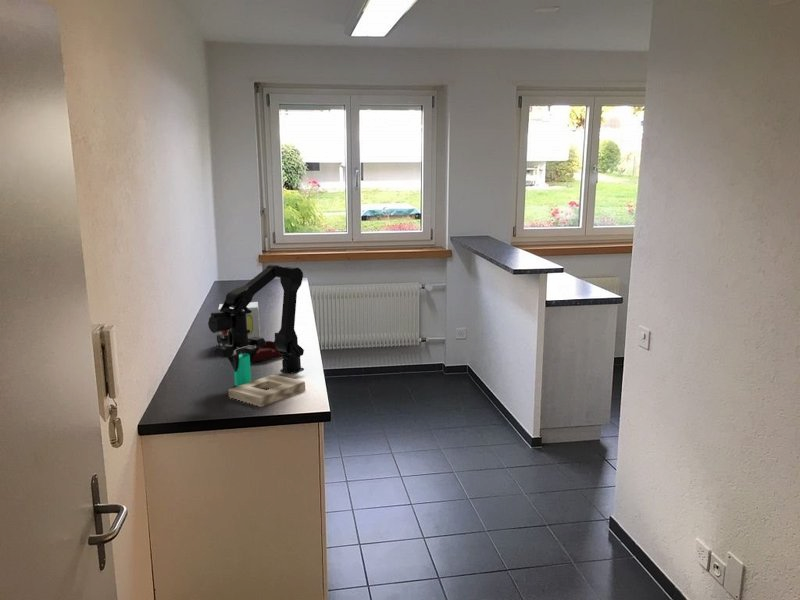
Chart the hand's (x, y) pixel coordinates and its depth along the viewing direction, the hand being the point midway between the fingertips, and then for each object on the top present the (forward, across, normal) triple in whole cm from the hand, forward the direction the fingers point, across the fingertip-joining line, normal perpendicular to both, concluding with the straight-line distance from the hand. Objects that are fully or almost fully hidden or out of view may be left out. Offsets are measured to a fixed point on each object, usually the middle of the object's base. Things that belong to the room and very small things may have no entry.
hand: (242, 370), depth 230 cm
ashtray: (+6, -30, -22) cm, 38 cm away
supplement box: (+6, -38, -47) cm, 61 cm away
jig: (+6, +2, +15) cm, 16 cm away
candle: (+5, 0, 0) cm, 5 cm away
